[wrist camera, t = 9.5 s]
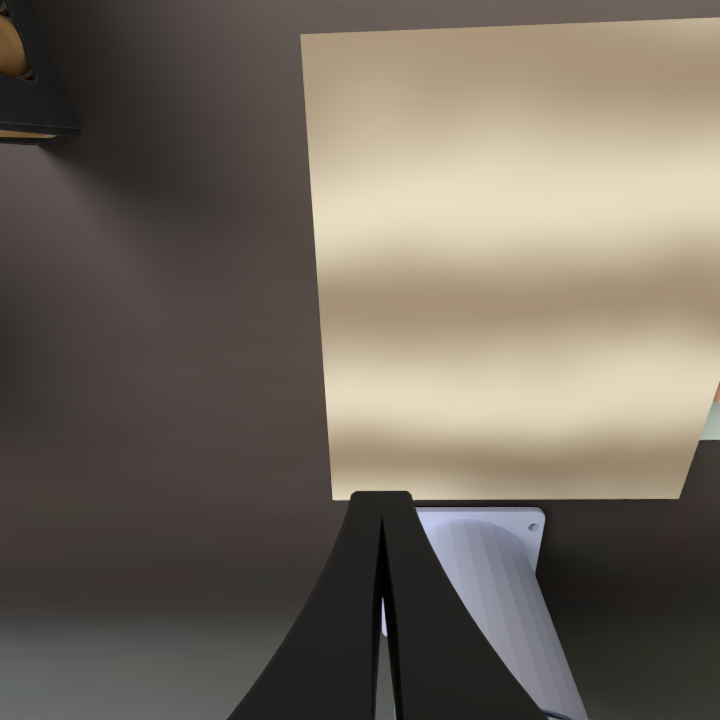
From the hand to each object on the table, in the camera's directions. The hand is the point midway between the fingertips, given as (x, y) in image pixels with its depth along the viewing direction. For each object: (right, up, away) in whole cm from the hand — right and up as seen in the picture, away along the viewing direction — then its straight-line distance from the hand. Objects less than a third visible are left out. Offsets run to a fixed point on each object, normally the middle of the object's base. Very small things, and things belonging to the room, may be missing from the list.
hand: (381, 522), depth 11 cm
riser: (+5, +7, +7) cm, 11 cm away
